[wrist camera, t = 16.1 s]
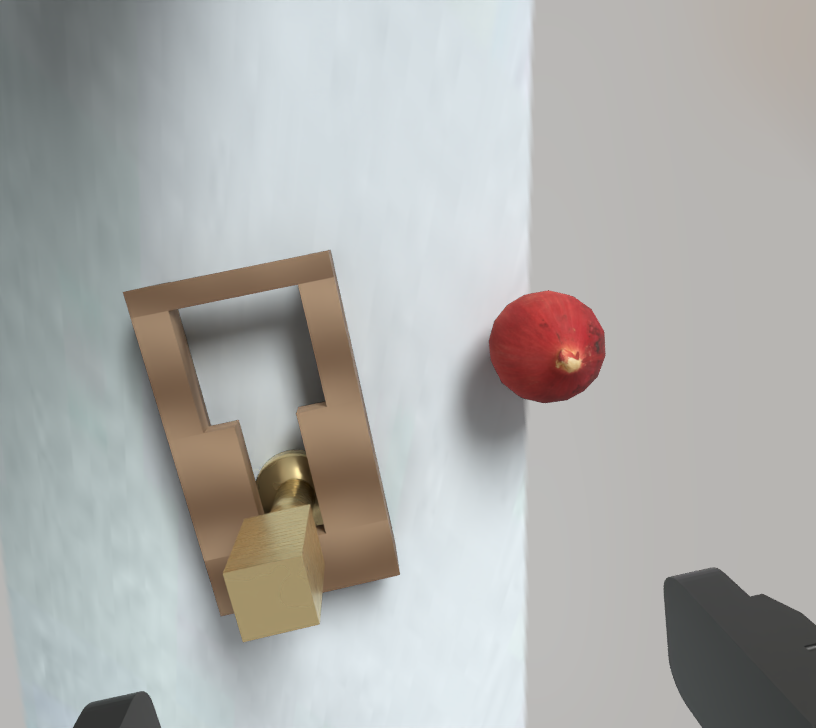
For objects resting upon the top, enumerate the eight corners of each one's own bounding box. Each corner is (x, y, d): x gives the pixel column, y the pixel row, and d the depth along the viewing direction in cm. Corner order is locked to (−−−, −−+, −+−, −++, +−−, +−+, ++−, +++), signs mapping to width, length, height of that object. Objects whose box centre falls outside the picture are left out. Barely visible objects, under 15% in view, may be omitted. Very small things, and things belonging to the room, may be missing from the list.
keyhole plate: (148, 286, 32) (122, 292, 28) (330, 249, 32) (327, 250, 29) (233, 579, 36) (220, 616, 32) (395, 542, 36) (399, 574, 33)
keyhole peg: (246, 459, 34) (197, 560, 23) (328, 441, 34) (316, 533, 23) (267, 533, 35) (228, 663, 24) (345, 515, 35) (342, 636, 25)
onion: (570, 279, 34) (636, 290, 26) (577, 376, 35) (641, 414, 27) (471, 293, 33) (508, 309, 26) (481, 390, 35) (520, 433, 27)
